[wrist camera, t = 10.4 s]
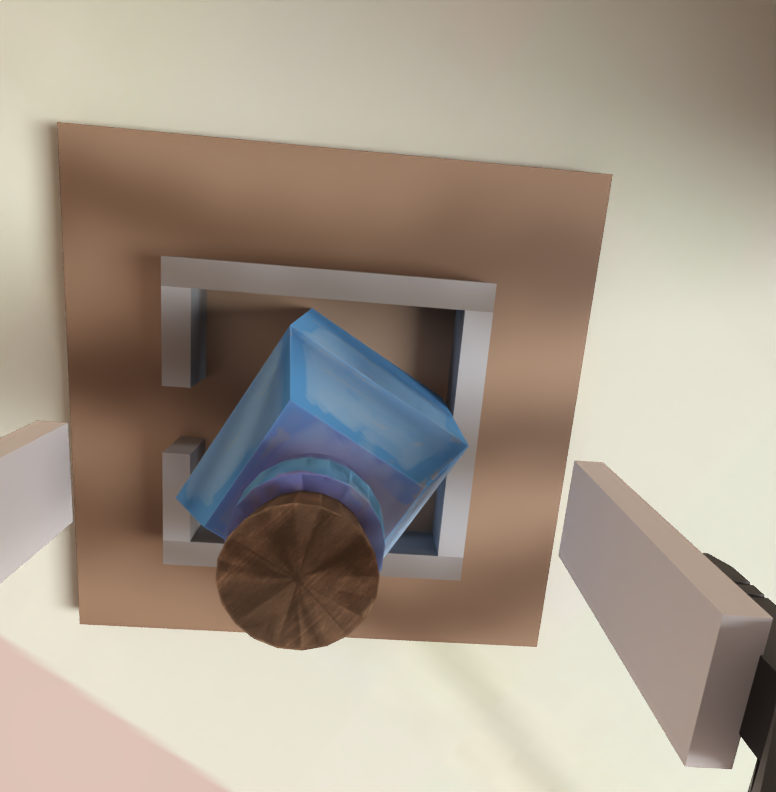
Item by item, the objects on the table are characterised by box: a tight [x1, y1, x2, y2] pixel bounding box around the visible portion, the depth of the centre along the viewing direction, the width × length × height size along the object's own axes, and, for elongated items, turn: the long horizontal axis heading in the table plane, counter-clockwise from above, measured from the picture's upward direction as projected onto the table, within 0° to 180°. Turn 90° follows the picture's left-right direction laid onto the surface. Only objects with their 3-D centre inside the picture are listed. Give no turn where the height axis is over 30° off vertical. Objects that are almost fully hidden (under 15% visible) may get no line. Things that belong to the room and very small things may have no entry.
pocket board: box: [57, 122, 612, 647], centre depth 22 cm, size 20×20×3 cm
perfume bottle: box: [176, 308, 469, 650], centre depth 17 cm, size 6×6×12 cm
